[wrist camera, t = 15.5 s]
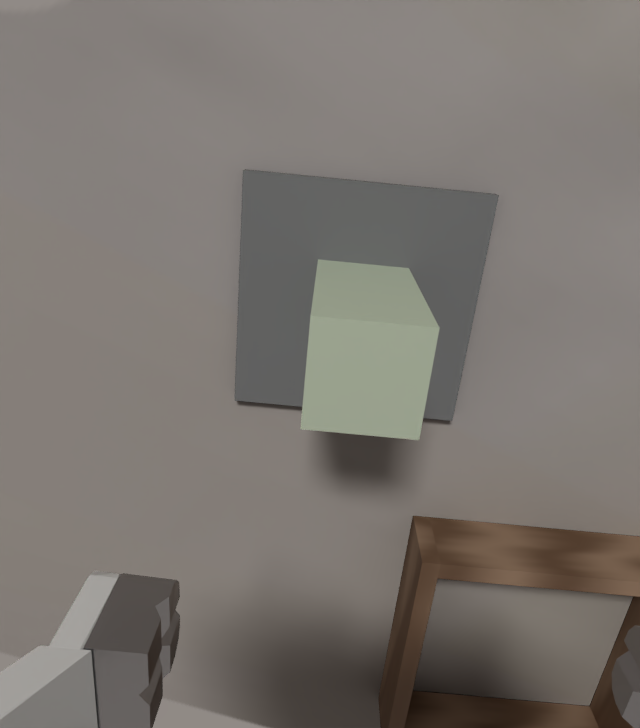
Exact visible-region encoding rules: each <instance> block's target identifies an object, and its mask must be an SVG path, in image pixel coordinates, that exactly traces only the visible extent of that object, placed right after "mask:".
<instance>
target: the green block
mask: <svg viewBox="0 0 640 728" xmlns="http://www.w3.org/2000/svg"><path fill="white" fill-rule="evenodd" d="M439 329H440V328H439V326H438V324H437V322H436V320H435V318H434V316H433V314H432V312H431V310H430V308H429V306H428V304H427V302H426V301H425V299H424V297H423V295H422V293H421V291H420V289H419V287H418V285H417V283H416V281H415V279H414V277H413V275H412V273H411V271H410V269H409V268H402V267H392V266H381V265H371V264H360V263H350V262H340V261H329V260H319V259H318V264H317V271H316V278H315V286H314V293H313V301H312V308H311V316H310V327H309V338H308V350H307V361H306V372H305V384H304V395H303V406H302V418H301V429H303V430H314V431H325V432H336V433H347V434H357V435H368V436H379V437H390V438H401V439H412V440H419V438H420V433H421V427H422V422H423V416H424V411H425V405H426V400H427V394H428V389H429V383H430V378H431V372H432V367H433V361H434V356H435V350H436V345H437V339H438V334H439Z"/></svg>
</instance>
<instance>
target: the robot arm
mask: <svg viewBox="0 0 640 728" xmlns="http://www.w3.org/2000/svg"><path fill="white" fill-rule="evenodd" d="M179 597H180V589H179V582H178V581H177V580H172V579H164V578H156V577H148V576H140V575H132V574H124V573H123V574H119V573H111V572H104V571H96V570H95V571H94V572H93V573H92V574H91V575H89V576H88V578H87V579H86V581H85V583H84V585H83V586H82V588H81V590H80V592H79V593H78V595H77V597H76V599H75V600H74V602H73V604H72V606H71V607H70V609H69V611H68V613H67V614H66V616H65V618H64V620H63V621H62V623H61V625H60V627H59V628H58V630H57V632H56V634H55V635H54V637H53V639H52V641H51V642H50V644H49V646H42V645H39V646H38V647H36V648H35V649H33V650H32V651H30V652H29V653H28V654H26V655H25V656H23V657H22V658H20V659H19V660H17V661H16V662H14V663H13V664H11V665H10V666H8V667H7V668H5V669H4V670H2V671H1V672H0V728H152V727H153V724H154V721H155V718H156V715H157V712H158V708H159V705H160V703H161V699H162V696H163V684H162V679H163V678H164V677H165V676H166V675H167V674H169V673H170V671H171V668H172V664H173V661H174V658H175V653H176V649H177V644H178V639H179V629H180V615H179V614H178V613H177V611H176V610H175V609H176V606H177V603H178V600H179ZM624 642H625V644H626V646H627V648H628V650H629V651H627V652H626V653H624V654H623V655H622V656H620V657H619V658H617V659H616V662H615V665H614V668H613V671H612V691H613V695H614V699H615V702H616V705H617V707H618V709H619V711H620V714H621V716H622V717H623V718H624V719H625V720H626V721H627V722H628V723H629V724H630V725H631V726H632V727H634V728H640V626H637V625H635V626H634V627H632V628H631V629H630V630H629V631H628V633H627V635H626V637H625V640H624Z"/></svg>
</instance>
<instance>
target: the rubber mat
mask: <svg viewBox="0 0 640 728" xmlns="http://www.w3.org/2000/svg"><path fill="white" fill-rule="evenodd" d="M498 196H499V195H496V194H490V193H479V192H469V191H459V190H449V189H439V188H429V187H418V186H408V185H398V184H388V183H378V182H367V181H357V180H347V179H337V178H327V177H317V176H306V175H296V174H286V173H276V172H266V171H255V170H243V185H242V212H241V239H240V266H239V294H238V321H237V348H236V375H235V401H246V402H257V403H267V404H278V405H289V406H299V407H302V406H303V395H304V384H305V372H306V361H307V350H308V338H309V327H310V316H311V308H312V301H313V293H314V286H315V278H316V271H317V264H318V259H319V260H329V261H340V262H350V263H360V264H371V265H381V266H392V267H402V268H409V269H410V271H411V273H412V275H413V277H414V279H415V281H416V283H417V285H418V287H419V289H420V291H421V293H422V295H423V297H424V299H425V301H426V302H427V304H428V306H429V308H430V310H431V312H432V314H433V316H434V318H435V320H436V322H437V324H438V326H439V328H440V329H439V334H438V339H437V345H436V350H435V356H434V361H433V367H432V372H431V378H430V383H429V389H428V394H427V400H426V405H425V411H424V416H423V418H428V419H438V420H449V421H452V419H453V415H454V410H455V405H456V400H457V395H458V390H459V385H460V381H461V376H462V371H463V366H464V361H465V356H466V351H467V347H468V342H469V337H470V332H471V327H472V322H473V318H474V313H475V308H476V303H477V298H478V293H479V288H480V284H481V279H482V274H483V269H484V264H485V259H486V255H487V250H488V245H489V240H490V235H491V230H492V225H493V221H494V216H495V211H496V206H497V201H498Z"/></svg>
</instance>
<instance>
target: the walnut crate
mask: <svg viewBox="0 0 640 728" xmlns="http://www.w3.org/2000/svg"><path fill="white" fill-rule="evenodd" d="M437 578H438V579H449V580H460V581H471V582H482V583H493V584H505V585H516V586H527V587H538V588H549V589H560V590H571V591H582V592H593V593H604V594H615V595H626V596H634V597H633V600H632V602H631V605H630V607H629V610H628V612H627V615H626V617H625V620H624V622H623V625H622V627H621V630H620V632H619V635H618V637H617V640H616V642H615V645H614V647H613V650H612V652H611V655H610V657H609V660H608V662H607V665H606V667H605V670H604V672H603V675H602V677H601V680H600V682H599V684H598V687H597V689H596V692H595V694H594V697H593V699H592V702H591V704H590V706H580V705H569V704H557V703H546V702H535V701H523V700H512V699H501V698H489V697H478V696H466V695H455V694H444V693H432V692H421V691H413V686H414V682H415V677H416V673H417V668H418V664H419V659H420V655H421V650H422V646H423V641H424V637H425V632H426V628H427V623H428V619H429V614H430V610H431V605H432V601H433V596H434V592H435V587H436V583H437ZM635 625H637V626H640V537H639V536H628V535H617V534H606V533H595V532H584V531H573V530H562V529H551V528H540V527H529V526H518V525H508V524H497V523H486V522H475V521H464V520H453V519H442V518H431V517H420V516H413V519H412V524H411V529H410V535H409V540H408V545H407V551H406V556H405V561H404V566H403V572H402V577H401V582H400V587H399V593H398V598H397V603H396V608H395V614H394V619H393V624H392V629H391V635H390V640H389V645H388V651H387V656H386V661H385V666H384V672H383V677H382V682H381V687H380V693H379V710H380V724H381V728H634V727H632V726H631V725H630V724H629V723H628V722H627V721H626V720H625V719H624V718H623V717H622V716H621V714H620V711H619V709H618V707H617V705H616V702H615V699H614V695H613V691H612V671H613V668H614V665H615V662H616V659H617V658H619V657H620V656H622V655H623V654H624V653H626V652H627V651H629V650H628V648H627V646H626V644H625V642H624V640H625V637H626V635H627V633H628V631H629V630H630V629H631V628H632V627H634V626H635Z"/></svg>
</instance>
